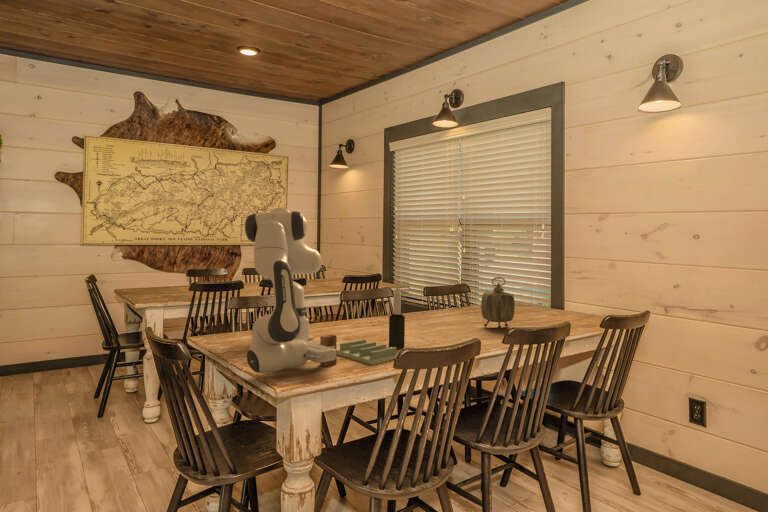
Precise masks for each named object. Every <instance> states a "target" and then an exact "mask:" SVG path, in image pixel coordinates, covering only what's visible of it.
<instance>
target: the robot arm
mask: <svg viewBox="0 0 768 512" xmlns="http://www.w3.org/2000/svg"><path fill="white" fill-rule="evenodd" d="M307 231H308V222H307V219H306V217H305V215H304V214H303V213H302V212H300V211H294V210H293V211H291V210H289V209H288V208H285V207H280V206H279V207H275V208H273V209H272V210H270V211H268V212H261V213H252V214H249V215H248V216H247V217H246V219H245V222H244V232H245V236H246V239H248V240H249V242H251V243H254V247H253V264H254V269H255V271H256V273H258V274H259V275H260V276H261V277H263V278H265V279H269V280H270V281H271V283H272V288H273V300H274V307H273V311H272V312H270V313H269V314H265V315H263V316H261V317H258V318H257V319H256V320H255V321H254V322H253V324H252V328H251V334H252V335H251V336H252V339H251V343H250V346H249V349H248V350H247V352H246V362H247V364H248V366H249V367H250V369H251V370H252V371H253V372H255V373H257V374H268V373H274V372H279V371H281V370H283V369H294V368H298V367H302V366H303V367H304V366H305V365H306V363H308V361H310V362H315V363H320V362H327V361H333V360H335V359H336V360H337V354H336V350H337V348H336V349H335V346H333V345H331V346H329V347H327V346H324V345H320V343H318V342H317V343H316V342H313V341H310V340H314V335H312V334H310V320H309V319H308V318H307V316H306V310H307V309H306V306H305V289H304V287H303V285H302V284H300V283H298V282H296V281H294V280H293V275H310V274H315V273H318V272H319V270H320V269H321V267H322V264H323V259H322V255H321V254H320V252H319V251H318V250H317V249H314V248H312V247H310V246H309V245H307V244H306V243H304V242H303V240H302V239H304V238H305V236H306V234H307Z"/></svg>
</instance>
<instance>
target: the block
mask: <svg viewBox="0 0 768 512" xmlns="http://www.w3.org/2000/svg"><path fill="white" fill-rule="evenodd" d="M337 336H338V335H336V334H333V333H332V334H327V335H326V334H324V335H321V336H320V343H319V344H320V345H324V346H327V347H329V346H331V345H333V346H335V349H336V350H337V341H338V340H337V339H338V338H337ZM319 363H320V364H319V365H320V366H321V365H322V367H324V366H325V367H328V366H329V365H330V366H333V365H337V358H336V359H335V360H333V361H327V362H319Z"/></svg>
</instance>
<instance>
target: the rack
mask: <svg viewBox="0 0 768 512" xmlns="http://www.w3.org/2000/svg"><path fill="white" fill-rule="evenodd" d="M397 354H398V349H397V347H392V348H389V347H388V348H387V344H383V343H382V344H378V345H377V341H370V342H367V339H365V338H363V339H358V340H353V341H346V342H342V343H339V349H336V355H338V356H342V357H345V358H347V357H348V359H350V358H351V359H350V360H354V359H355V360H354V361H357V360H358V361H357V362H360V361H361V362H360V363H363V362H364V364H368V365H370V364H371V365H370V366H373V365H372V364H374V365H378V364H381V362H382V363H385V361H387V362H390V361H389V360H391V361H394V360H393V359H395V357H396V355H397ZM395 360H396V359H395ZM377 363H378V364H377Z"/></svg>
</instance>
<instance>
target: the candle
mask: <svg viewBox="0 0 768 512" xmlns="http://www.w3.org/2000/svg"><path fill="white" fill-rule="evenodd" d="M401 309H402V293H401V292H400V289H399V285H398V284H397V285H396V288H395V291H394V292H393V313H391V314H390V315H388V316H389V317H388V348H389V347H397V348H400V349H402V348H401V347H404V348H405V334H406V332H405V331H406V330H405V328H406V326H405V325H406V324H405V322H406V321H405V320H406V319H405V318H406V317H405V315H404V314H403V313H401V311H402V310H401Z"/></svg>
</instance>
